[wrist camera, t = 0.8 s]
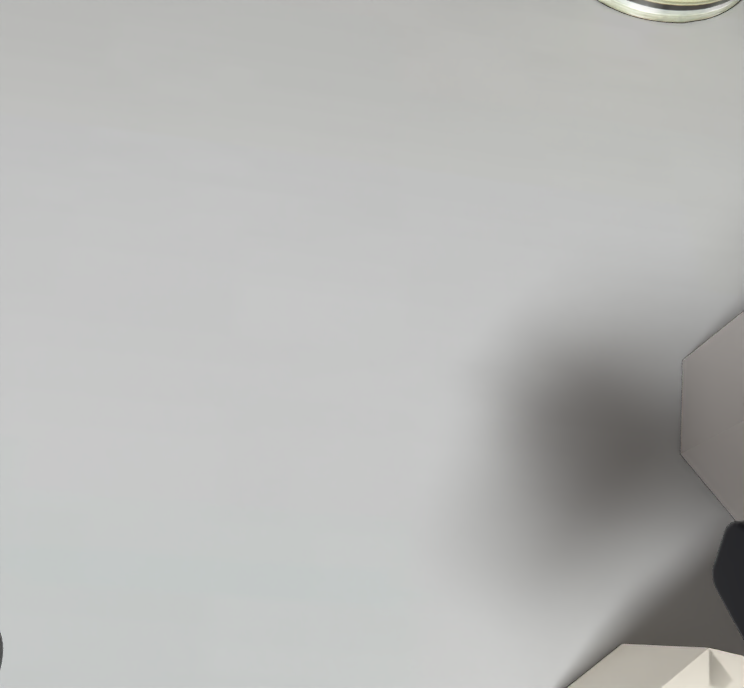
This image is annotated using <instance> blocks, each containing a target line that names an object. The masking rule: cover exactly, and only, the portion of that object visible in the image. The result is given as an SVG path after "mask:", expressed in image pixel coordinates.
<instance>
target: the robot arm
mask: <svg viewBox="0 0 744 688" xmlns="http://www.w3.org/2000/svg"><path fill="white" fill-rule="evenodd" d="M712 576H713V581H714V585H715V587H716V590H717V592H718V593H719V595H720V597H721V599H722V601H723V603H724V605H725V606H726V608H727V610H728V612H729V614H730V616H731V617H732V619H733V621H734V623H735V625H736V627H737V629H738V630H739V632H740V634H741V636H742V638H743V640H744V520H740V521H734V522H731V523H730V524H729V525H728V526H727V527H726V529H725V532H724V535H723V538H722V541H721V544H720V547H719V550H718V553H717V556H716V559H715V562H714V565H713V569H712ZM2 657H3V642H2V637H1V633H0V668H1V664H2Z"/></svg>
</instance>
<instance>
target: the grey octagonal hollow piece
mask: <svg viewBox="0 0 744 688" xmlns="http://www.w3.org/2000/svg"><path fill="white" fill-rule="evenodd" d="M680 454H681V455H682V457H683V458H684V459H685V460H686V461H687V463H688V464H689V465H690V466H691V467H692V469H693V470H694V471H695V472H696V473H697V475H698V476H699V477H700V478H701V479H702V481H703V482H704V483H705V484H706V485H707V487H708V488H709V489H710V490H711V491H712V493H713V494H714V495H715V496H716V497H717V499H718V500H719V501H720V502H721V503H722V505H723V506H724V507H725V508H726V509H727V511H728V512H729V513H730V514H731V516H732V517H733V518H734V519H735V520H736V521H740V520H744V311H743V312H742V313H741V314H739V315H738V316H737V317H736V318H734V319H733V320H732V321H731V322H729V323H728V324H727V325H726V326H724V327H723V328H722V329H721V330H720V331H718V332H717V333H716V334H715V335H713V336H712V337H711V338H710V339H708V340H707V341H706V342H705V343H703V344H702V345H701V346H700V347H698V348H697V349H696V350H695V351H693V352H692V353H691V354H690V355H688V356H687V357H686V358H685V359H683V360H682V404H681V450H680Z"/></svg>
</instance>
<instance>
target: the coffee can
mask: <svg viewBox="0 0 744 688" xmlns="http://www.w3.org/2000/svg"><path fill="white" fill-rule="evenodd" d="M598 1H599V2H601V3H603V4H605V5H606V6H608V7H610V8H613V9H615V10H618V11H620V12H622V13H625V14H628V15H631V16H634V17H639V18H642V19H648V20H654V21H662V22H676V23H683V22H689V21H696V20H703V19H707V18H711V17H713V16H716V15H718V14H721V13H723V12H725V11H727V10H728V9H730V8H731V7H733V6H734V5H735V4H736V3H737V2H739V1H740V0H598Z"/></svg>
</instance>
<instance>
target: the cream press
mask: <svg viewBox="0 0 744 688" xmlns="http://www.w3.org/2000/svg"><path fill="white" fill-rule="evenodd" d="M567 688H744V656H742V655H737V654H733V653H729V652H725V651H721V650H716V649H712V648H704V647H682V646H660V645H638V644H621V645H620V646H619V647H617V648H616V649H615V650H614V651H612V652H611V653H610V654H609V655H607V656H606V657H605V658H604V659H602V660H601V661H600V662H599V663H597V664H596V665H595V666H594V667H592V668H591V669H590V670H588V671H587V672H586V673H585V674H583V675H582V676H581V677H580V678H578V679H577V680H576V681H575V682H573V683H572V684H571V685H570V686H568V687H567Z"/></svg>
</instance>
